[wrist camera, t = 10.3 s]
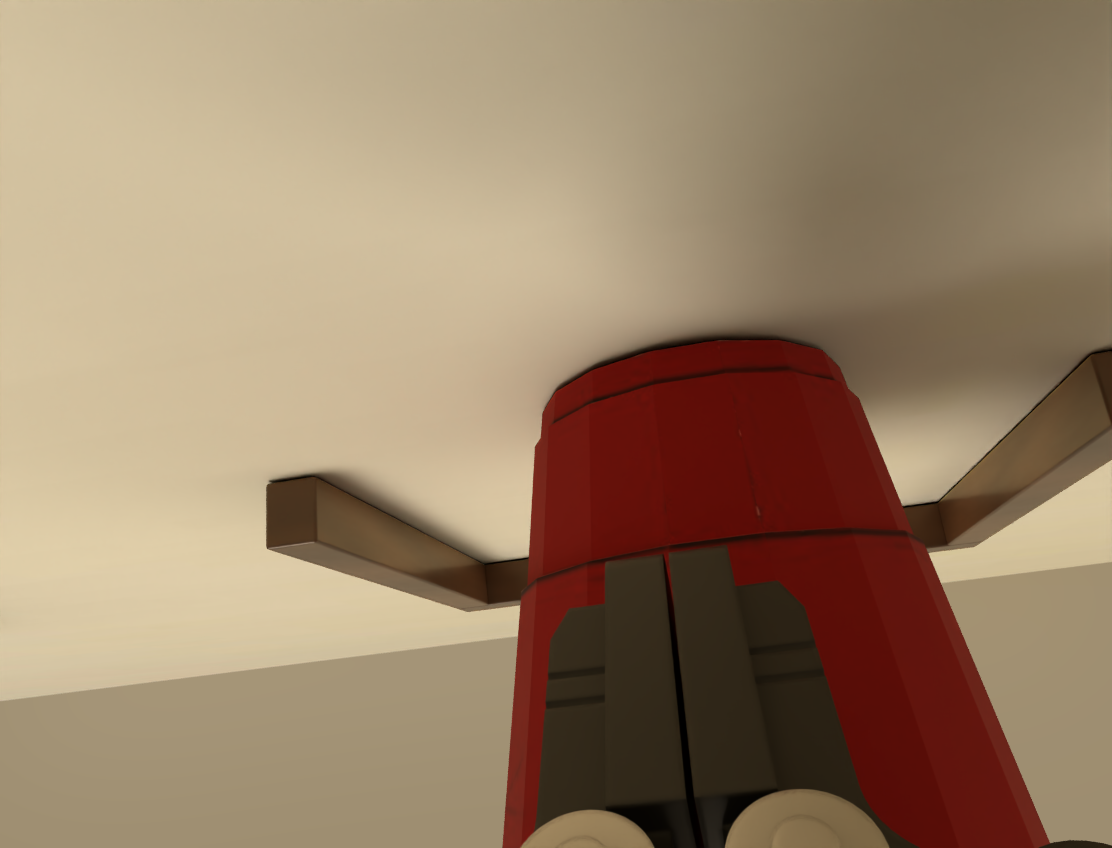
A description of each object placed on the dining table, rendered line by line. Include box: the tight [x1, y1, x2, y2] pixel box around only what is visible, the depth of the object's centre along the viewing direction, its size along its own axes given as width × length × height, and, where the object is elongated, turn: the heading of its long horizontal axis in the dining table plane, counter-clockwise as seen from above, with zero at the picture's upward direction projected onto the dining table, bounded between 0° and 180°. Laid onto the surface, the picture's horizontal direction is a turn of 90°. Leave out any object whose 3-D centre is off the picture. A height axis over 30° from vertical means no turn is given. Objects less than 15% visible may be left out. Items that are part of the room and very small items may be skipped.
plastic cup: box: [503, 340, 1050, 848], centre depth 15 cm, size 11×11×12 cm
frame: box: [266, 351, 1112, 612], centre depth 25 cm, size 15×18×2 cm
